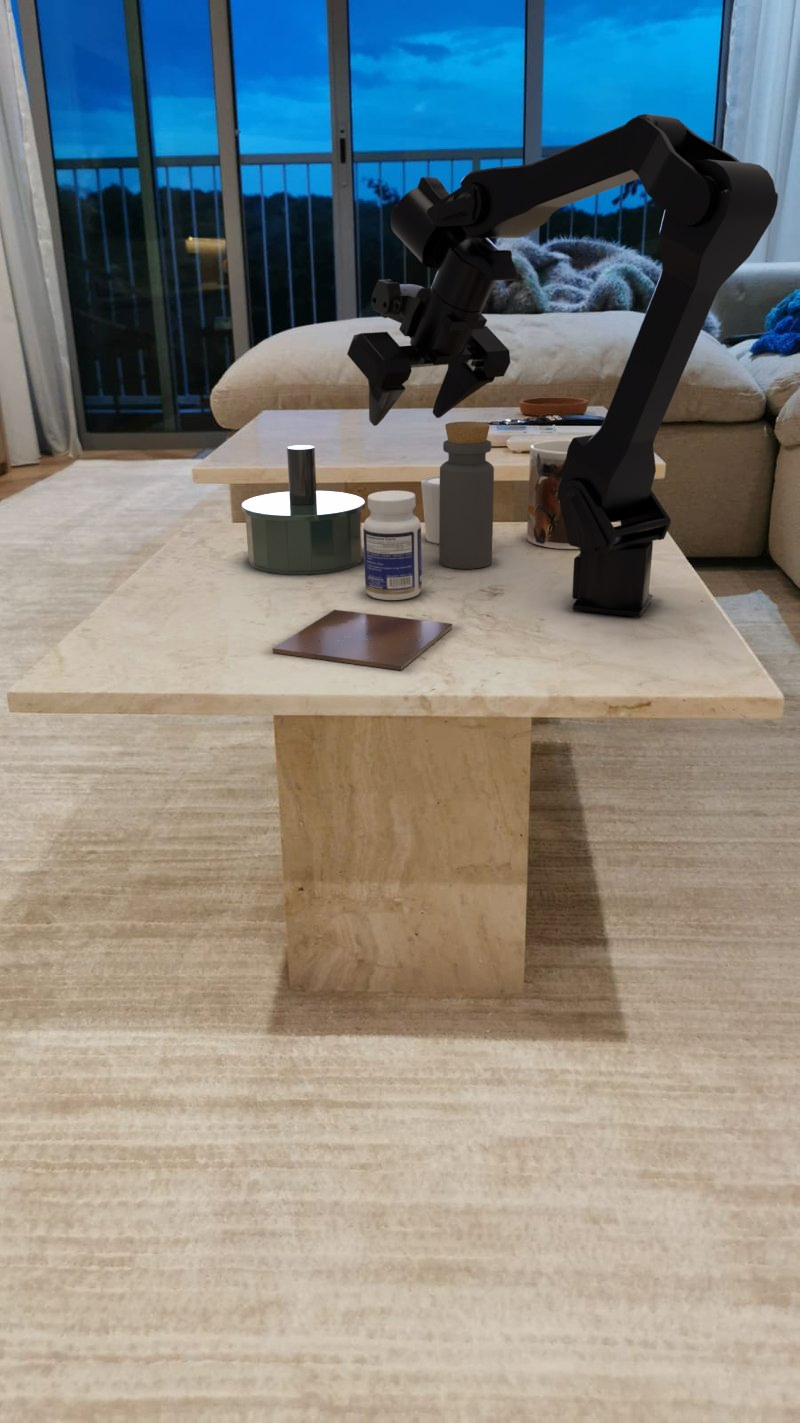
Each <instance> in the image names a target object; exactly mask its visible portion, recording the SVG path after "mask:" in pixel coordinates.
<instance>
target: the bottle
mask: <svg viewBox="0 0 800 1423" xmlns="http://www.w3.org/2000/svg"><path fill="white" fill-rule="evenodd" d="M444 427H445V431H446V438H447V440H444V441H443V443H442V444H443V445H442V450H443V452H445V453H447V454H448V460H446V461H444V462H443V463H442V464H441V465H440V467H439V477H440V498H439V544H438V545H439V546H438V548H439V549H438V550H439V551H438V553H439V554H438V557H439V564H440V565H442V566H444V567H446V568H451V569H456V570H457V569H458V570H475V569H480V568H485V567H488V566H490V565H491V564H492V562H493V561H492V560H493V536H494V535H493V532H494V494H495V492H494V490H495V489H494V486H495V467H494V466H493V464H492V463H490V461H487V460H486V457H487V456H486V455H487V453H490V452H491V451H492V441H490V440H488V435H489V431H490V427H491V426H490V424H489V423H487V422H483V421H454V422H453V421H452V422H448V423H446V424H445V425H444Z"/></svg>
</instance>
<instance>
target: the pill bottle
mask: <svg viewBox="0 0 800 1423" xmlns="http://www.w3.org/2000/svg"><path fill="white" fill-rule="evenodd" d="M416 502H417V501H416V494H415V493H414V492H411V491H408V490H381V491H376V492H373V493H370V494H368V496H367V509H368V511H370V515H369V516H368V517H367V518H366V519H365V520H364V522H363V529H362V531H363V554H364V580H365V581H364V586H365V587H364V588H365V592H366V594H367V595H368V596H369V597H372V598H373V599H377V600H382V601H402V600H408V599H412V598H414V597H416V596H418V595H419V594H420V593H421V592H422V590H423V572H422V571H423V569H422V568H423V565H422V524H421V521H420V519H419V518H418V517H417V516H416V515H415V514H414V509H415V508H416V507H417V503H416Z"/></svg>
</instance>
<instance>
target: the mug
mask: <svg viewBox="0 0 800 1423" xmlns="http://www.w3.org/2000/svg"><path fill="white" fill-rule="evenodd" d="M571 441H572V439H551V440H542V441H537V442H534V443H531V444H530V446H529V447H530V448H529V466H528V467H529V470H528V492H527V493H528V494H527V495H528V496H527V521H526V522H527V524H526V539H527V541H528V542H530V543H531V544H533V545H537V546H540V547H545V548H549V549H550V548H551V549H558V550H559V549H560V550H580V548H578V547H575V546H571V545H569V542H568V537H567V533H566V528H565V523H564V519H563V514H562V510H561V505H560V501H558V498H557V493H558V487H559V483H560V480H561V478H557V476H556V475H557V473H558V472H559V471H560V470H561V469H562V467H563V465H564V463H565V459H566V455H567V451H568V447H569V445H570V443H571ZM618 522H619V523H617V524H616V525H613V527H616V526H620V525H621V521H618Z"/></svg>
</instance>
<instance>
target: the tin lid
mask: <svg viewBox="0 0 800 1423" xmlns="http://www.w3.org/2000/svg"><path fill="white" fill-rule="evenodd" d="M286 454H287V457H286V458H287V475H288V491H280V492H272V493H267V494H261V495H257V496H253V497H250V498H248V499H246V500H243V501H242V503H241V512H242V513H243V514H244V515H245V516H246V515H248V516H251V517H254V518H259V519H265V520H274V521H317V520H328V519H335V518H341V517H346V516H350V515H353V514H356V513H358V512H360V511H361V512H362V511H363V510H364V509H365V508H366V501H365V499H364V498H363V497H360V496H359V495H355V494H351V493H346V492H341V491H331V490H317V472H316V471H317V469H316V468H317V467H316V447H315V446H314V445H308V444H307V445H305V444H297V445H290V446H287V447H286Z"/></svg>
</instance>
